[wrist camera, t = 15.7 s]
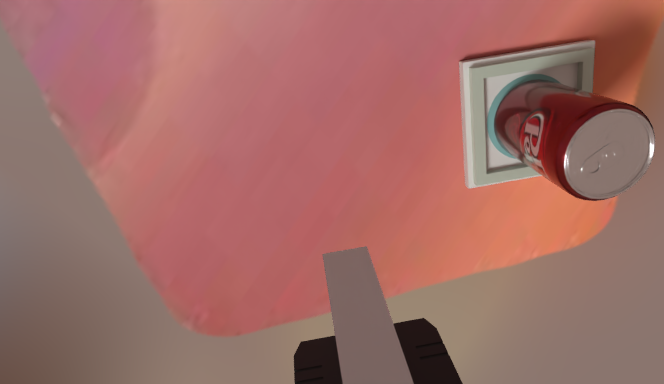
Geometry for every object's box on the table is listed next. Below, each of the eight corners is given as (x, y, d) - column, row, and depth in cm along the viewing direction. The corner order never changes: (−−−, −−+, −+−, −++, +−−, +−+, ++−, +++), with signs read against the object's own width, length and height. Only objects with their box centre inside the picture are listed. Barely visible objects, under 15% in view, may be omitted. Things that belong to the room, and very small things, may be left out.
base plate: (459, 61, 44) (465, 63, 42) (588, 39, 44) (600, 41, 42) (465, 184, 48) (471, 191, 46) (582, 164, 48) (593, 170, 47)
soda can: (549, 61, 43) (641, 82, 32) (578, 128, 46) (673, 168, 35) (477, 107, 44) (543, 142, 33) (510, 169, 47) (581, 222, 35)
